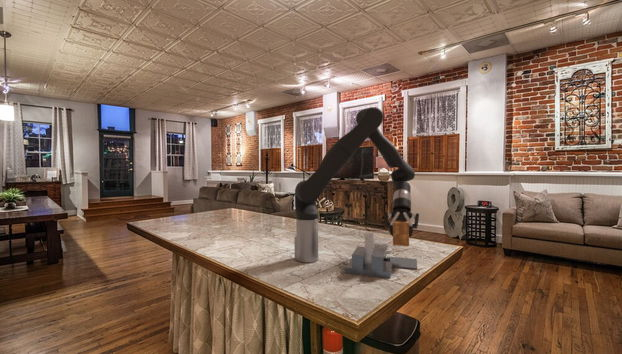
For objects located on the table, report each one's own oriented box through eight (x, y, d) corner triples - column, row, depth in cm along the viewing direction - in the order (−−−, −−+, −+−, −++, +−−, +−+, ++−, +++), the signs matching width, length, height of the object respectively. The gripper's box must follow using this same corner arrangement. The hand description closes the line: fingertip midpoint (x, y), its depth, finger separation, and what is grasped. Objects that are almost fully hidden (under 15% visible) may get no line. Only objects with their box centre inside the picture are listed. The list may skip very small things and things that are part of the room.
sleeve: (392, 245, 114) (392, 222, 114) (393, 241, 120) (393, 219, 120) (408, 246, 112) (408, 223, 112) (409, 242, 118) (409, 220, 118)
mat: (384, 266, 113) (384, 265, 113) (386, 257, 124) (386, 256, 124) (417, 269, 109) (417, 268, 109) (416, 260, 120) (416, 258, 120)
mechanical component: (369, 254, 130) (392, 255, 128) (369, 244, 130) (392, 245, 128) (369, 248, 140) (390, 249, 138) (369, 239, 140) (390, 240, 138)
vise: (345, 273, 106) (344, 234, 105) (351, 263, 117) (351, 228, 117) (390, 278, 100) (390, 237, 100) (392, 267, 112) (392, 231, 111)
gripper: (384, 196, 125) (381, 229, 114) (419, 197, 120) (420, 231, 109) (385, 207, 130) (382, 239, 119) (419, 208, 126) (420, 242, 115)
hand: (401, 235), depth 114 cm, fingers closed on sleeve, 6 cm apart
